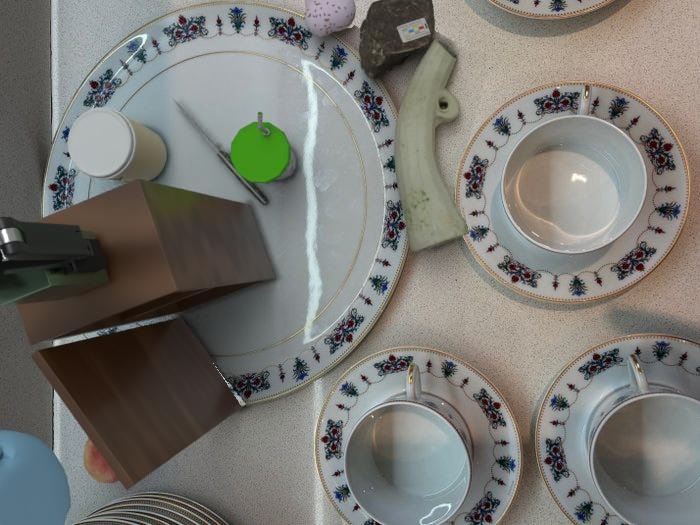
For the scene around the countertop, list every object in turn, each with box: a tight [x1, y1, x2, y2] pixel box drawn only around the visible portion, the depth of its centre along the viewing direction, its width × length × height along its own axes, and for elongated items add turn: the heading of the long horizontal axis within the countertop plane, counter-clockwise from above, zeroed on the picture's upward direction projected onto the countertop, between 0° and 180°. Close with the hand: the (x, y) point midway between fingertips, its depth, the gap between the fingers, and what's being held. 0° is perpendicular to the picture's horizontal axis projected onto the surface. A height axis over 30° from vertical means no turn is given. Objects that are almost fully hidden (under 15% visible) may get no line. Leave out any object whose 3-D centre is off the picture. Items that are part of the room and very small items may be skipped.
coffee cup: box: [67, 106, 168, 182], centre depth 92 cm, size 9×9×12 cm
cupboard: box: [16, 179, 277, 347], centre depth 79 cm, size 11×16×34 cm
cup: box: [229, 111, 298, 184], centre depth 87 cm, size 8×8×15 cm
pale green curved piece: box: [393, 38, 470, 254], centre depth 86 cm, size 28×8×10 cm
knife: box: [172, 98, 268, 205], centre depth 94 cm, size 20×1×3 cm, turn 42°
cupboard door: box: [30, 316, 245, 491], centre depth 80 cm, size 7×16×34 cm, turn 38°
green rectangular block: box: [0, 230, 109, 307], centre depth 57 cm, size 5×5×9 cm
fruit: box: [82, 438, 120, 484], centre depth 95 cm, size 8×8×8 cm
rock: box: [358, 0, 436, 81], centre depth 88 cm, size 10×7×8 cm
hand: (71, 265), depth 61 cm, fingers closed on green rectangular block, 5 cm apart
